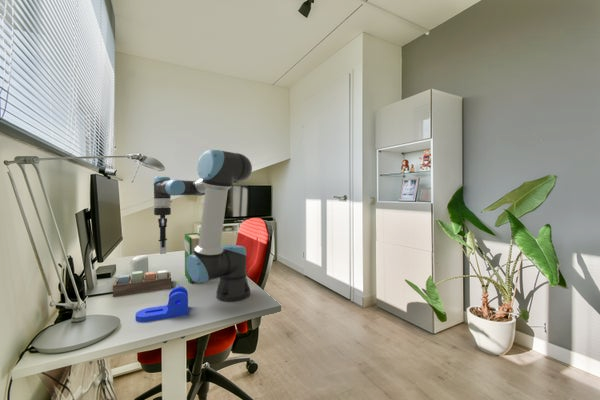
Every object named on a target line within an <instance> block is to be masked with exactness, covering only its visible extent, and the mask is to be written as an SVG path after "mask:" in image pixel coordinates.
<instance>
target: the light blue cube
mask: <svg viewBox="0 0 600 400" xmlns="http://www.w3.org/2000/svg"><path fill="white" fill-rule="evenodd" d="M130 277H131V273H130V274H122V275H119V276H118V284H125V283H129V282H130Z"/></svg>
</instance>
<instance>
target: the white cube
mask: <svg viewBox="0 0 600 400" xmlns="http://www.w3.org/2000/svg"><path fill="white" fill-rule="evenodd" d="M167 272H168V270H167V269H164V270H157V274H158V279H164V278H167Z"/></svg>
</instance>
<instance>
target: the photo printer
mask: <svg viewBox="0 0 600 400" xmlns="http://www.w3.org/2000/svg"><path fill="white" fill-rule="evenodd" d="M136 271H143V275H145V273H146V272H149V257H148V256H147V254H145V255H144V254H141V255H137V256H135V257H134V258H132V259H131V260H130V277H132V273H133V272H136Z"/></svg>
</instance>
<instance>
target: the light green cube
mask: <svg viewBox="0 0 600 400" xmlns="http://www.w3.org/2000/svg"><path fill="white" fill-rule="evenodd" d="M142 280H143V271H136V272H133V273H132V282H139V281H142Z"/></svg>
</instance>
